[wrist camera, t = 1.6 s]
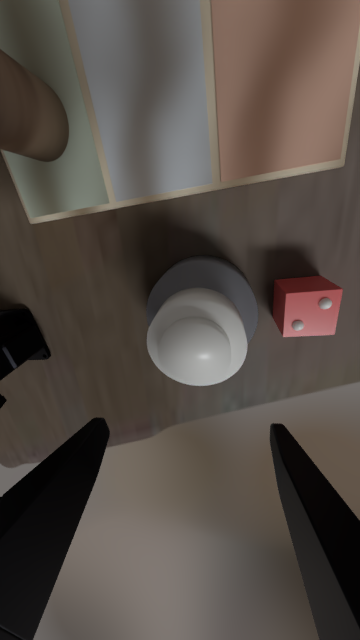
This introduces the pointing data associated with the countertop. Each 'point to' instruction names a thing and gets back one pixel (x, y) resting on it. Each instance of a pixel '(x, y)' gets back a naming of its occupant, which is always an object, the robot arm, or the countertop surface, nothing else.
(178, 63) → the board
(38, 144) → the pawn
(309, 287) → the red and grey pieces
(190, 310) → the whipped cream
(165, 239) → the countertop surface
